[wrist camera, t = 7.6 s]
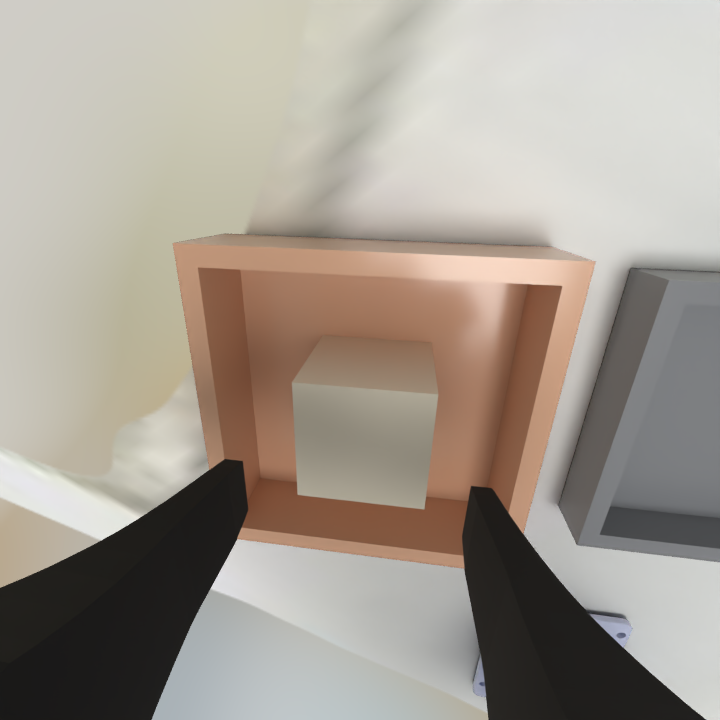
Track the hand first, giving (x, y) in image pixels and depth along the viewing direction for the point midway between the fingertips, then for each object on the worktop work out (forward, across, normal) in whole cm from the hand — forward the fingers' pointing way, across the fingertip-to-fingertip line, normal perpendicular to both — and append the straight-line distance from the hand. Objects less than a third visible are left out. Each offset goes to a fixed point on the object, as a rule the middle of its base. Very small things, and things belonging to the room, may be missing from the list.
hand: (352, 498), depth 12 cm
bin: (+8, 0, 0) cm, 8 cm away
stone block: (+7, 0, 0) cm, 7 cm away
